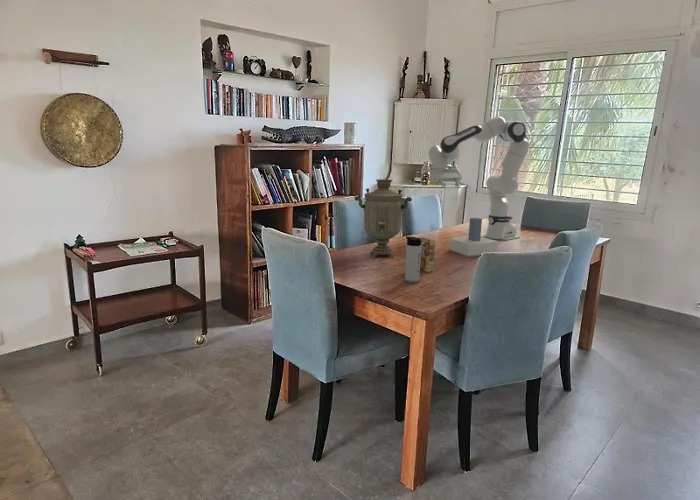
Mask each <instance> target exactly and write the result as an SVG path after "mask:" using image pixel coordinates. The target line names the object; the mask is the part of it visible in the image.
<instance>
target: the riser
mask: <svg viewBox="0 0 700 500" xmlns="http://www.w3.org/2000/svg"><path fill="white" fill-rule="evenodd" d="M468 237H469V236H461V237H451V238H450V241H449V243H450V244H449V248H448V251H450V252H452V253H455V254H458V255H460V256H463V257H464V258H465V257H466V258H468V259H469V258H474V257H475V258H477V257H481V256H480V255H481V254H482V253H484V252H497V253H498V247H499V241H497V240H496V239H492V238H488V237H485V236H480V241H472V240H469V239H468Z"/></svg>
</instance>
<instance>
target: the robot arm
mask: <svg viewBox="0 0 700 500" xmlns="http://www.w3.org/2000/svg"><path fill="white" fill-rule="evenodd" d="M526 134H527V128H526V125H525V124H524V122H521V121H520V120H519V121H518V120H517V121H516V120H515V121H511V122H507V121H506V120H505V119H504V117H502V116H499V115H497V116H494V117H492V118H490V119H487V120H486V121H484V122H482V123H480V124H478V125H472V126H470V127H467V128H465V129H463V130H461V131H459V132H457V133H455V134H451V135H447V136H445V137H443V138H442V140H441V141H440V143H439V144H440V145H437V144H436V145H433V146H432V147H430V148H429V150H428V156H429V160H430V162H431V164H432V165H433V168H430V169H429V170H428V171H429V173H430V177H431V178H430V179H431V181H432V182H434V183H438V184H440V185H441V186H442V187H441V188H446V186H447V184H446V183H447V182H450V183H451V182H454V183H455V184H454V186H455V187H456V188H457V187H459V186H460V184H459V182H460V181H461V180H462V179H463V176H462V173H461V171H460V169H458V165H457V164H454V163H453V162H456V161H457V160H458V159H459V157H460V149H459V146H460V144H461V143H463V142H466V141H467V140H470V139H473V138H474V139H475V140H476V141H477V142H479V143H486V142H489V141H490V140H492V139H494V138H495V137H497V136H499V137H500V138H501V140H503V141H505V142H509V148H508V150H507V151H506V154H505V156H504V158H503V160H502V162H501V168H502V169H501V174H495V175H491V176H489V177H488V178H487V180H486V183H485V185H486V188H487V189H488V193H489V201H490V202H489V203H490V205H489V206H490V207H489V214H488V224H487V227H486V228H487V229H486V232H485V234H484V235H485V236H484V237H485V238H488V239H491V240H504V241H509V240H514V239H520V238H521V235H520V234H518V230H517V227H516V226H515V225H514V224H513V223H512V222H511V221H510V220H513V219H514V218H513V216H512V215H511V216H509V208H510V207H509V206H510V203H509V201H508V198H507V196H509V195H513V194H515V193H517V191H518V189H519V183H518V177H519V176H518V175H519V172H520V169H521V166H522V164H523V163H524V160H525V158H526V156H527V153H528V150H529V146H530V143H529V141H528V140H527V139H526ZM445 182H446V183H445Z"/></svg>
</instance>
